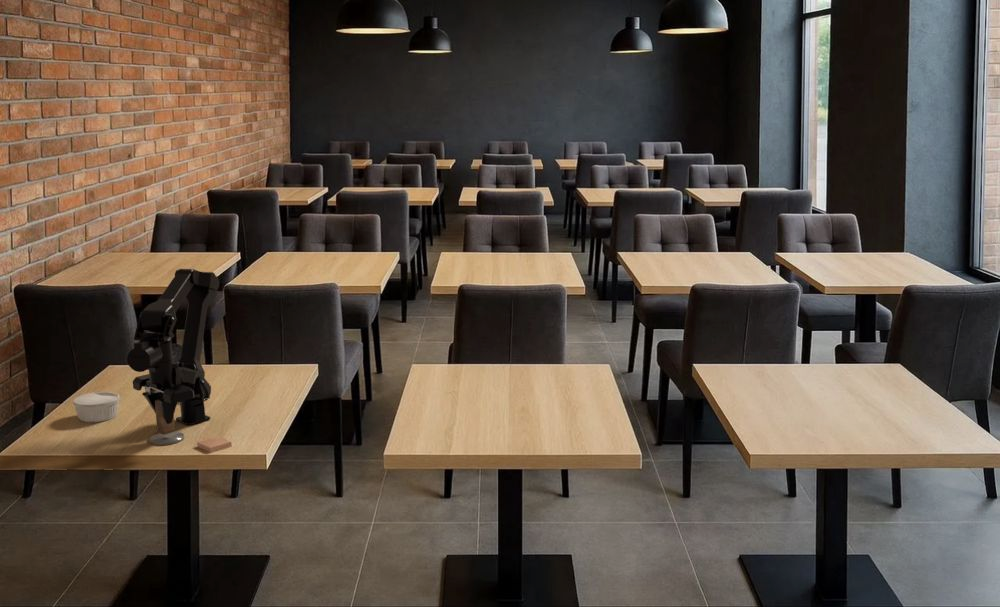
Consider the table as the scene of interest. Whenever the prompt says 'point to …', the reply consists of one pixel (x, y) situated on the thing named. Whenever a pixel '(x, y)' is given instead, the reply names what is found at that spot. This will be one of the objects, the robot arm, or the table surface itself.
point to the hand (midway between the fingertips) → (165, 421)
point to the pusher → (163, 421)
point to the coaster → (166, 438)
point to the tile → (214, 444)
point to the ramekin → (97, 406)
